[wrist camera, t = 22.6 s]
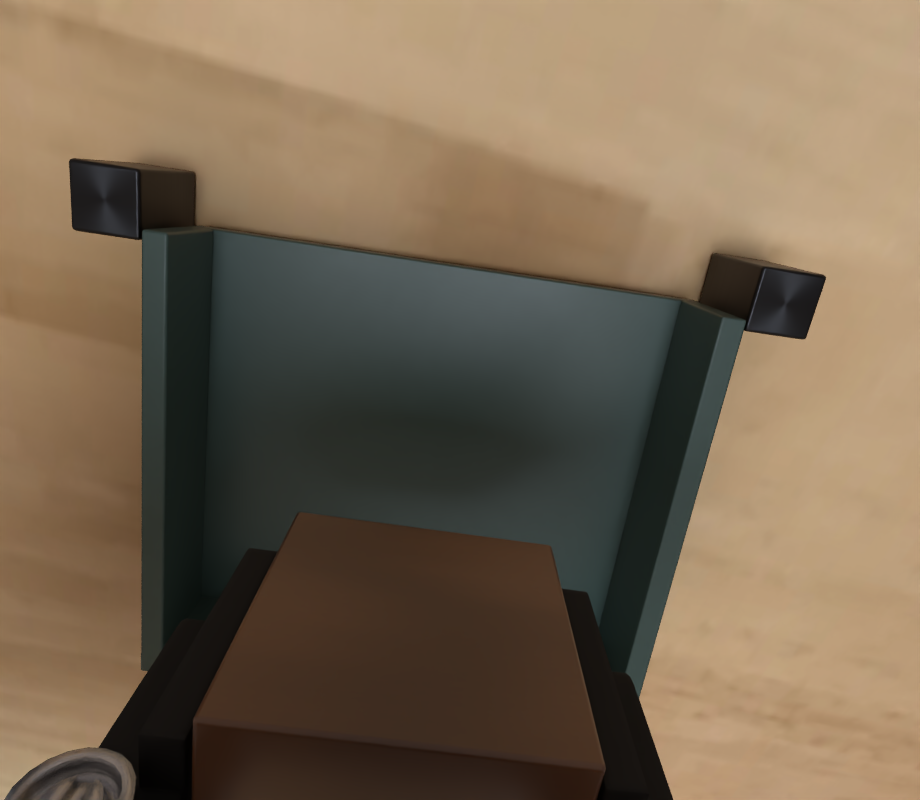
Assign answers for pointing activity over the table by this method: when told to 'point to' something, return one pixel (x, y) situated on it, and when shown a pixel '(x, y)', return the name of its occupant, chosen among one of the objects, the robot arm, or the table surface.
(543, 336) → the dustpan
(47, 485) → the table surface
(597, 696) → the robot arm
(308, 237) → the table surface
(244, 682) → the block
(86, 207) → the pair of dark blocks
